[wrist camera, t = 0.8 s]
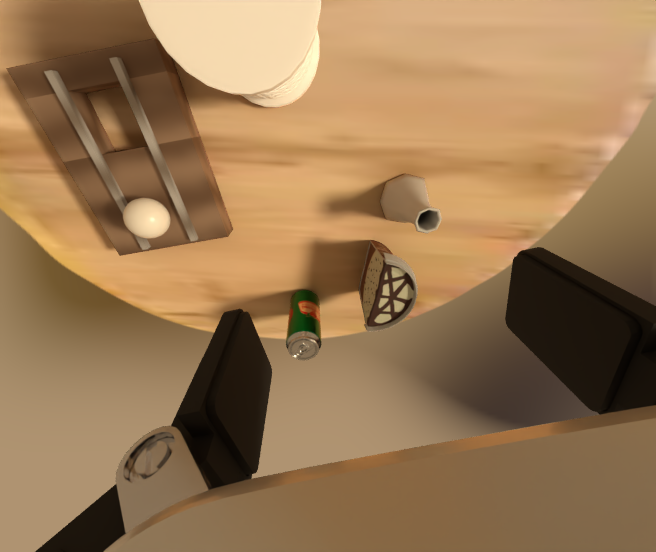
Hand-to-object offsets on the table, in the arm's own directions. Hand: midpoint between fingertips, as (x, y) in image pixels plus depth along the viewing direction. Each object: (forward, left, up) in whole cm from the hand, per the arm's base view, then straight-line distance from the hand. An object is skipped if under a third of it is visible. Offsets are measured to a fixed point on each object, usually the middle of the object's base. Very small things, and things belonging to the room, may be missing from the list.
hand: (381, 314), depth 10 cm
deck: (-5, -24, -33) cm, 41 cm away
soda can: (+21, -8, -33) cm, 40 cm away
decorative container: (-14, -5, -33) cm, 36 cm away
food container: (+17, +6, -33) cm, 38 cm away
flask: (+6, +10, -33) cm, 35 cm away
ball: (+1, -24, -27) cm, 36 cm away
